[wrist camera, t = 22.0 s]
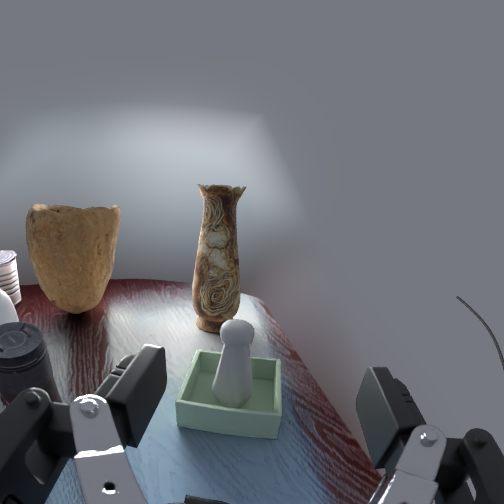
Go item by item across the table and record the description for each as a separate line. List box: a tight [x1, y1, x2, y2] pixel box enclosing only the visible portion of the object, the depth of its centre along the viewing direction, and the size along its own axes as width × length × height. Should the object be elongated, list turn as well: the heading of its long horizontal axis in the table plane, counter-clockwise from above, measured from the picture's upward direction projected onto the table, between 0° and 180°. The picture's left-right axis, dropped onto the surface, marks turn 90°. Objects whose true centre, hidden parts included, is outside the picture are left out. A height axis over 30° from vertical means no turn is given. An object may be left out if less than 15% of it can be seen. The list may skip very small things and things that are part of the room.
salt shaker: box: [212, 319, 255, 408], centre depth 37 cm, size 6×6×13 cm
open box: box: [175, 349, 282, 439], centre depth 39 cm, size 13×13×5 cm
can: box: [0, 251, 21, 305], centre depth 53 cm, size 11×11×12 cm
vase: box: [192, 184, 246, 332], centre depth 61 cm, size 10×11×30 cm
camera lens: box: [0, 322, 62, 445], centre depth 23 cm, size 8×8×15 cm
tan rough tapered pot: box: [26, 204, 120, 314], centre depth 57 cm, size 22×22×25 cm
